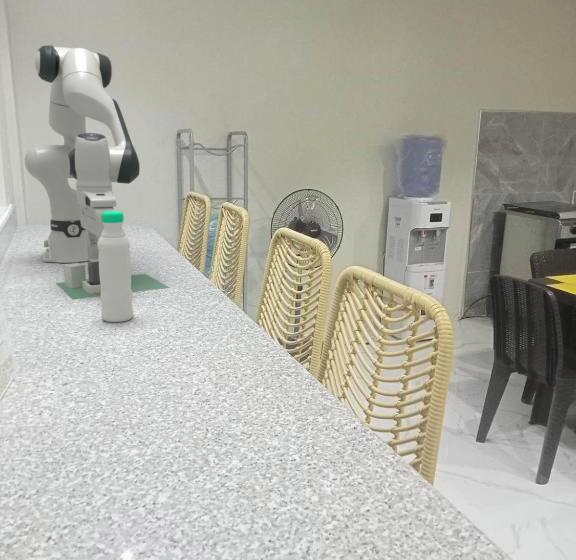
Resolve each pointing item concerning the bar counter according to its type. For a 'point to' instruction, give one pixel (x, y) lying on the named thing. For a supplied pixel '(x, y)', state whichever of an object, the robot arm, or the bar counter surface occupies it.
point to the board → (137, 284)
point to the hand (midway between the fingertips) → (97, 249)
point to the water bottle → (115, 269)
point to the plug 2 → (94, 271)
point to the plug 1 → (74, 275)
